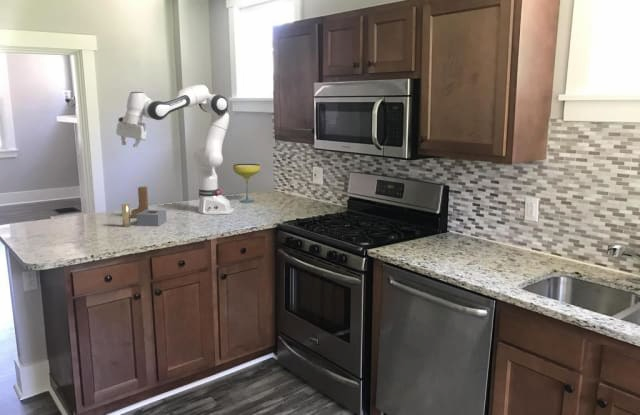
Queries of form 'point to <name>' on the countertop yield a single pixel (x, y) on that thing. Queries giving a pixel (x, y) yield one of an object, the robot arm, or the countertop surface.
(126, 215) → the brass pin
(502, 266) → the countertop surface
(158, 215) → the hole holder
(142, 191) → the wooden block
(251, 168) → the cocktail glass
